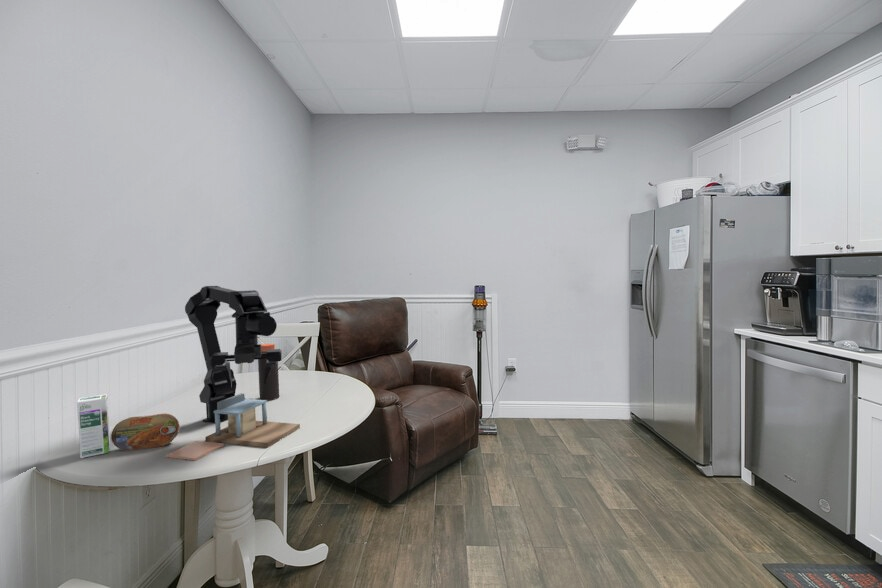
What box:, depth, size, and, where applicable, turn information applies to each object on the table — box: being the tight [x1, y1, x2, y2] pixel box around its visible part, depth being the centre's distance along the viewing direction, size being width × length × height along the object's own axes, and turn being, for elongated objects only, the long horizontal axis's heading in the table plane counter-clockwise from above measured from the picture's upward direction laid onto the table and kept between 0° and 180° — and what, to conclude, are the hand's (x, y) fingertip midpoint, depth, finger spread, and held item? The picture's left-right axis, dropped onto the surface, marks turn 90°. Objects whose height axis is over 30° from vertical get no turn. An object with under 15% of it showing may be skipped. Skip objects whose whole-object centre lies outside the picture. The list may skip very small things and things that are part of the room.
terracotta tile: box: [165, 440, 225, 461], centre depth 105 cm, size 9×9×1 cm
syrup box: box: [76, 393, 111, 459], centre depth 106 cm, size 6×6×14 cm
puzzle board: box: [204, 420, 301, 448], centre depth 115 cm, size 20×14×1 cm
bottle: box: [257, 343, 280, 401], centre depth 151 cm, size 7×7×20 cm
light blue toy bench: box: [214, 393, 268, 438], centre depth 116 cm, size 8×12×9 cm
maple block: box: [227, 407, 257, 434], centre depth 116 cm, size 5×5×7 cm
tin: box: [110, 413, 180, 452], centre depth 109 cm, size 15×3×8 cm, turn 106°
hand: (248, 386), depth 120 cm, fingers open, 9 cm apart
